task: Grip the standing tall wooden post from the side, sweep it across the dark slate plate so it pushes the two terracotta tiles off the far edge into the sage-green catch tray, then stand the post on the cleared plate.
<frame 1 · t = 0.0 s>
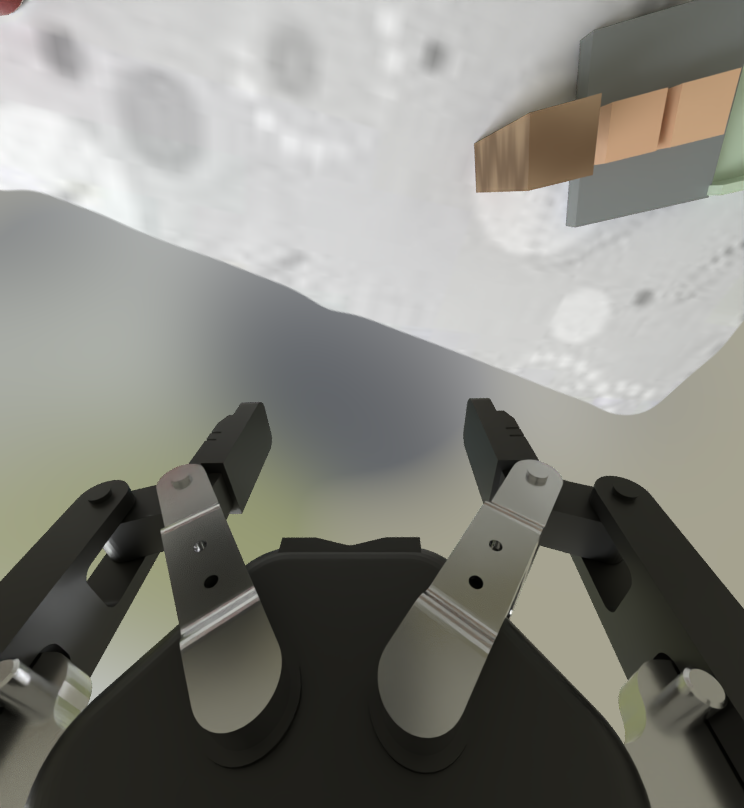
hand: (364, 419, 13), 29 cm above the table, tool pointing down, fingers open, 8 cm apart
tall wooden post: (496, 163, 32), on the table
plate: (641, 126, 31), on the table
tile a: (613, 133, 29), point 2 cm above the table, touching plate
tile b: (675, 117, 29), point 2 cm above the table, touching plate
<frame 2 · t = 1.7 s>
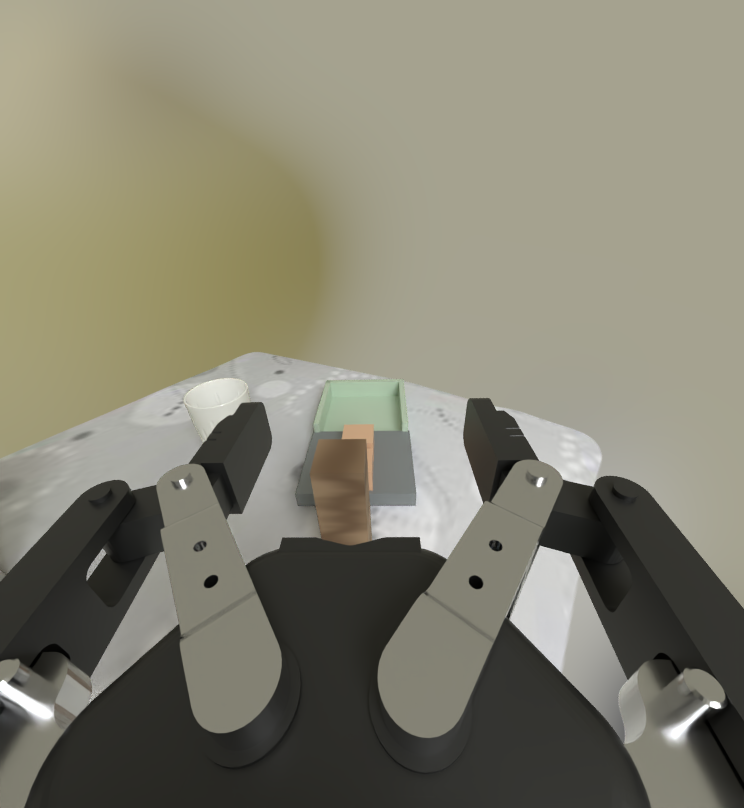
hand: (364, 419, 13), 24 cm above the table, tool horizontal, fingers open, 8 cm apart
tray: (363, 418, 55), on the table
tall wooden post: (351, 560, 34), on the table
plate: (359, 470, 44), on the table
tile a: (356, 478, 40), point 2 cm above the table, touching plate
white cup: (235, 451, 49), on the table
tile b: (359, 451, 45), point 2 cm above the table, touching plate
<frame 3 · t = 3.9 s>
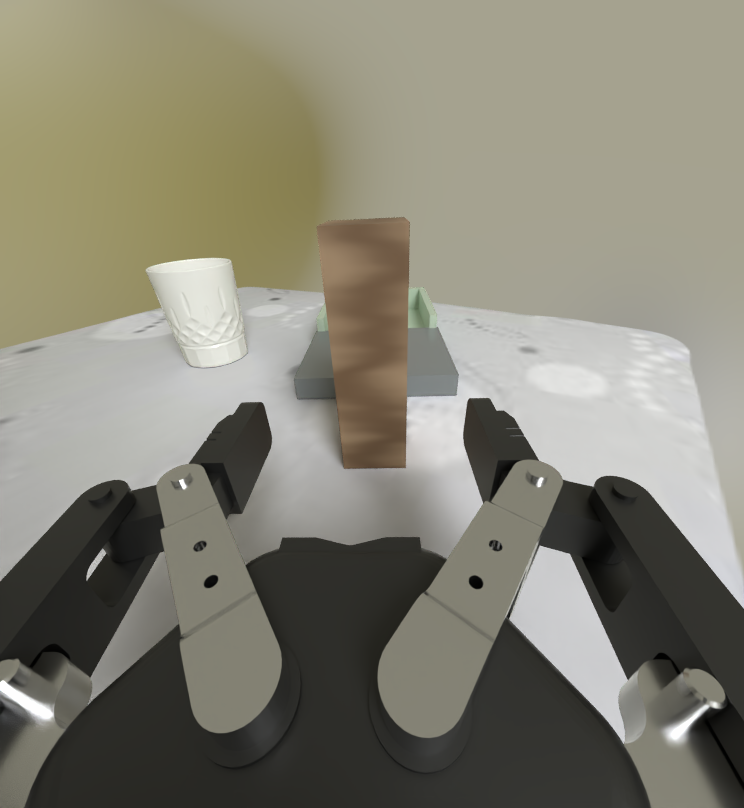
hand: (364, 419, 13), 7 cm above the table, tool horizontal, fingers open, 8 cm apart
tray: (377, 327, 45), on the table
tall wooden post: (375, 448, 23), on the table
plate: (376, 367, 34), on the table
white cup: (218, 357, 39), on the table
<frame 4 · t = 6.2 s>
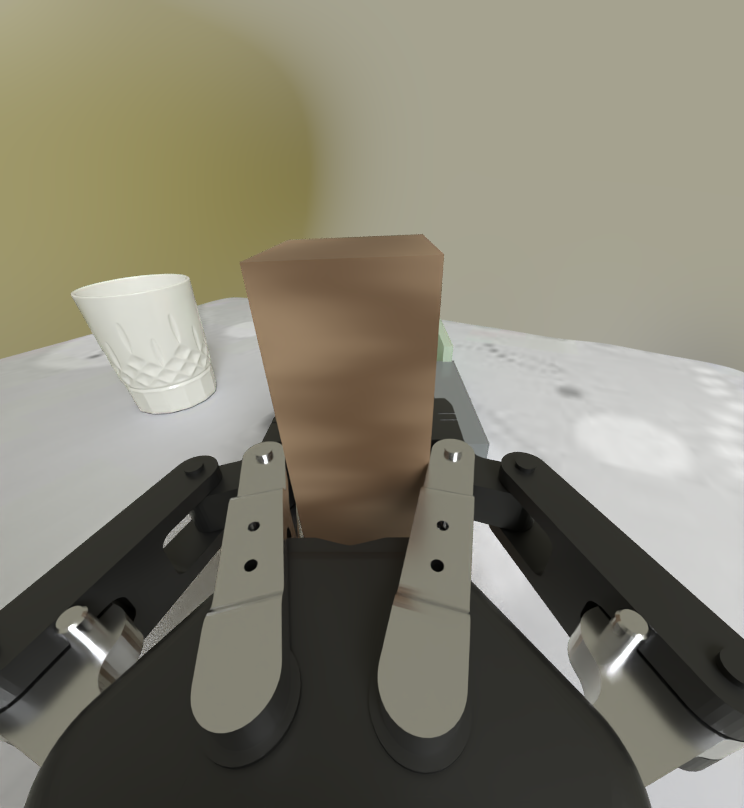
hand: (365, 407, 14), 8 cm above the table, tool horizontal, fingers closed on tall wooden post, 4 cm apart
tray: (378, 355, 37), on the table
tall wooden post: (371, 573, 16), on the table, touching gripper
plate: (376, 417, 27), on the table
white cup: (179, 396, 31), on the table
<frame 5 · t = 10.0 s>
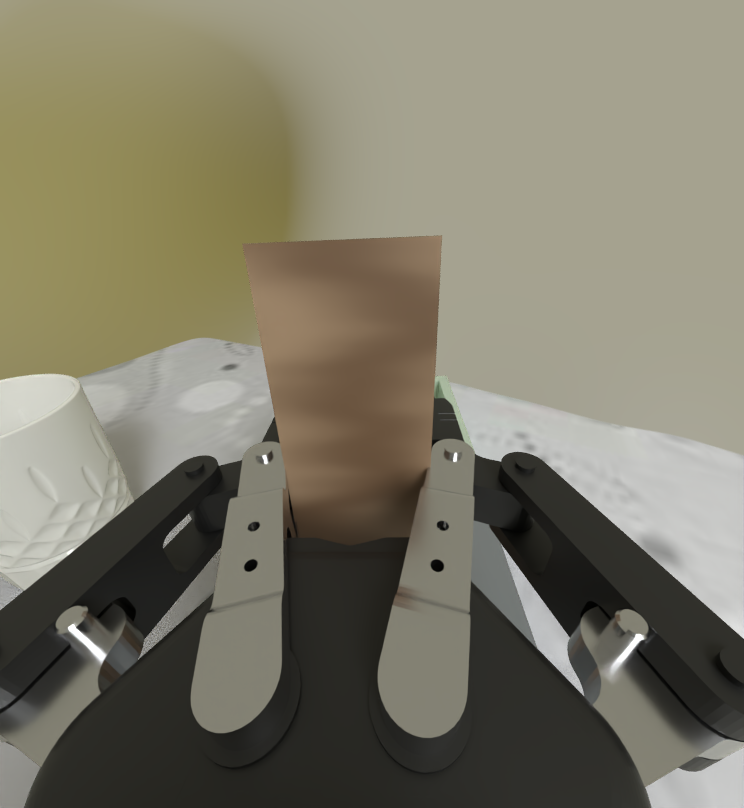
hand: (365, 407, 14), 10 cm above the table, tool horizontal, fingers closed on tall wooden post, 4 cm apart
tray: (373, 454, 27), on the table
tall wooden post: (371, 595, 15), point 3 cm above the table, tilted 6°, touching gripper, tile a
plate: (370, 612, 17), on the table
white cup: (83, 543, 21), on the table
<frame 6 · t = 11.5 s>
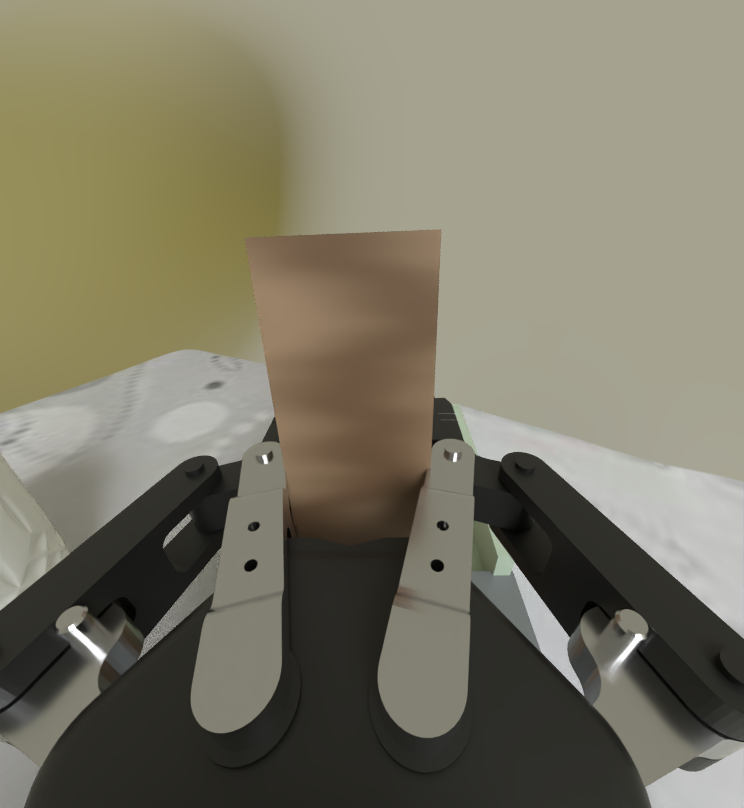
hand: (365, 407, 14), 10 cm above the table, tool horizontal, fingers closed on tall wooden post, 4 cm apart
tray: (373, 501, 23), on the table
tall wooden post: (370, 602, 14), point 3 cm above the table, tilted 8°, touching gripper, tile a
plate: (368, 754, 13), on the table
white cup: (10, 628, 17), on the table
when the fingers open (10 cm above the table, at t = 15.1 s): tall wooden post stays where it is, resting on plate.
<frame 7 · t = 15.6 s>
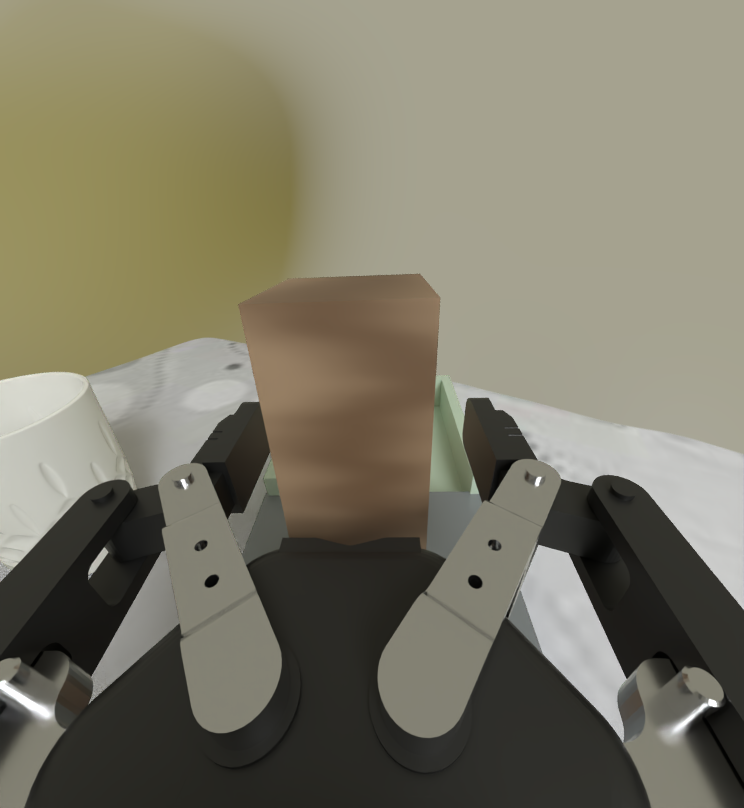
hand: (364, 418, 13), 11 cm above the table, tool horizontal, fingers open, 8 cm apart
tray: (376, 452, 27), on the table
tall wooden post: (369, 616, 15), point 2 cm above the table, touching plate
plate: (373, 607, 17), on the table
white cup: (91, 538, 22), on the table
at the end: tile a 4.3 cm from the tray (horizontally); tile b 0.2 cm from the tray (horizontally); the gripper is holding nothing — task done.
